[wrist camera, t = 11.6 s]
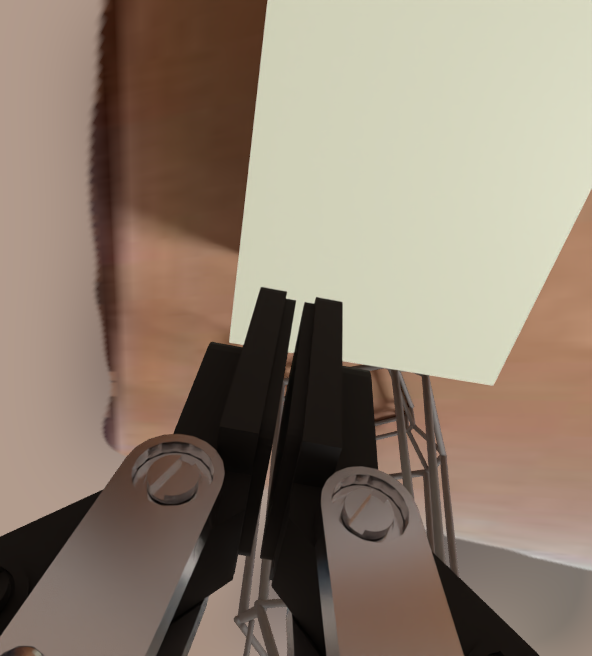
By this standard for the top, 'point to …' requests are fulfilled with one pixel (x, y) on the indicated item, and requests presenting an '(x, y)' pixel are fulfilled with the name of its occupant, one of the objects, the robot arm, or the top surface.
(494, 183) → the lid
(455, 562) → the geometric lantern
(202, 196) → the top surface
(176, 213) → the top surface
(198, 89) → the top surface
